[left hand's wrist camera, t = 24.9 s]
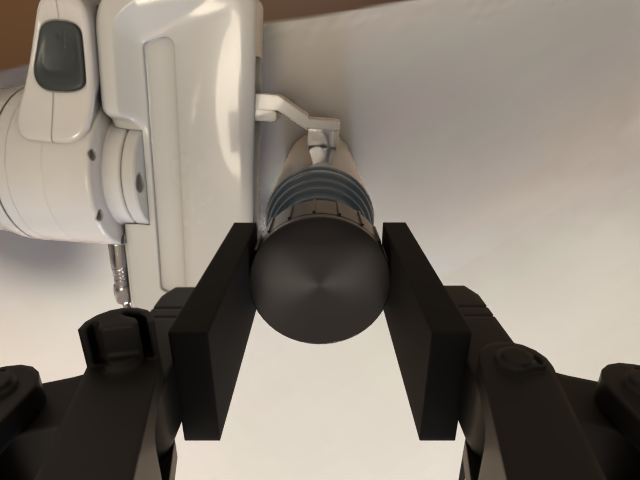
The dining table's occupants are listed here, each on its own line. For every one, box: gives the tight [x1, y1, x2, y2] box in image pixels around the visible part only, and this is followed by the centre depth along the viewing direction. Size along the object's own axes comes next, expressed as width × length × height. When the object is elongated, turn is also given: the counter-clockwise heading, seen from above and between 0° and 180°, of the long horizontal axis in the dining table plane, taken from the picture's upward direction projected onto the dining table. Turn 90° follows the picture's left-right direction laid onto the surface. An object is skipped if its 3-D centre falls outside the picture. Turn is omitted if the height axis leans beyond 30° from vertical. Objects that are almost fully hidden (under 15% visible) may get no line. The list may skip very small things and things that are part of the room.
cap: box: [249, 199, 390, 344], centre depth 13 cm, size 4×4×2 cm
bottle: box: [266, 134, 374, 227], centre depth 22 cm, size 5×5×18 cm
